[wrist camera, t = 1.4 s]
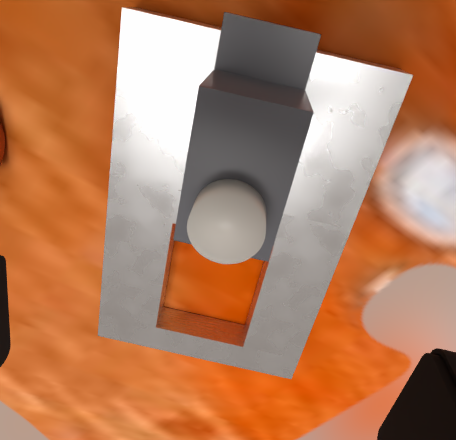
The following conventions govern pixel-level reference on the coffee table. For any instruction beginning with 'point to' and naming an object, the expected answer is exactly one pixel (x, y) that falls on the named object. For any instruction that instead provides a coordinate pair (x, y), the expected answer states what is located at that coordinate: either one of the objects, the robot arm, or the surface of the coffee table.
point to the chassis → (173, 179)
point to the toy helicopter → (2, 143)
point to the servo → (246, 140)
